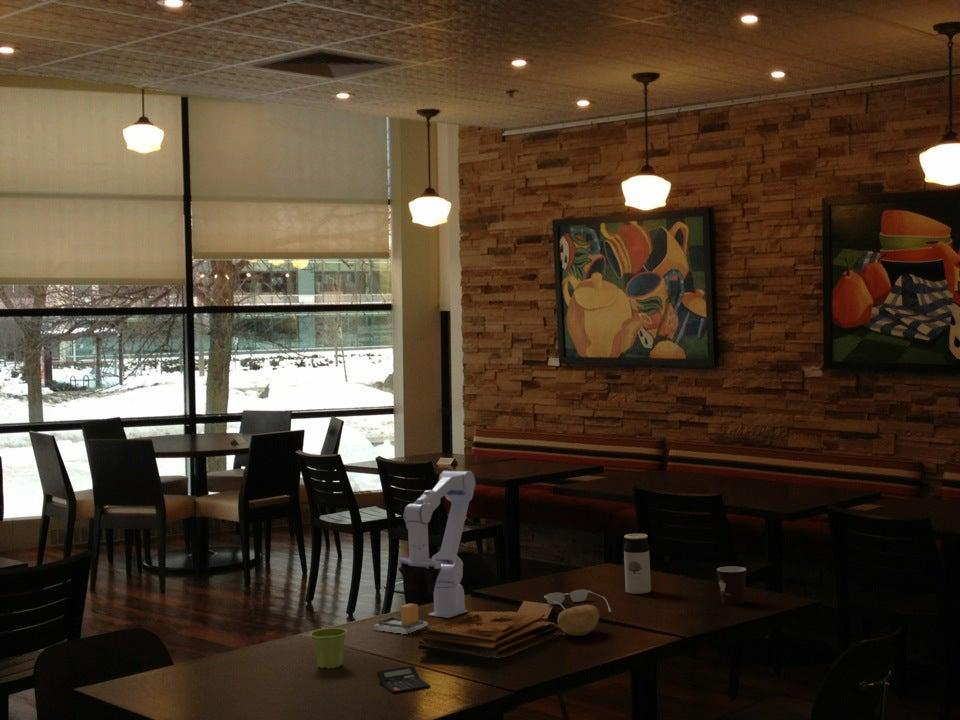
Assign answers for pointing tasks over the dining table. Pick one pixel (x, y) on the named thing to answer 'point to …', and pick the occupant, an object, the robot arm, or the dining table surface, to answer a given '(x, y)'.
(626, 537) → the travel mug
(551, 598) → the eyeglasses
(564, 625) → the potato
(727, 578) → the coffee mug
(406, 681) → the calculator
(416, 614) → the tan upright block
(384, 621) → the console plate
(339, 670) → the dining table surface
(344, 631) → the plant pot
